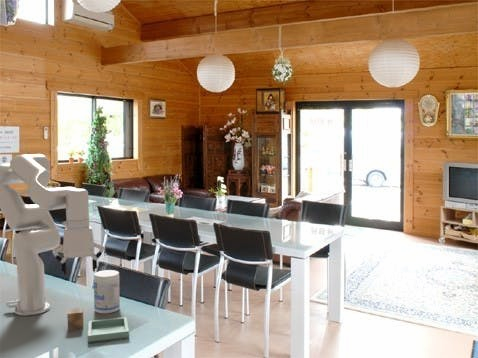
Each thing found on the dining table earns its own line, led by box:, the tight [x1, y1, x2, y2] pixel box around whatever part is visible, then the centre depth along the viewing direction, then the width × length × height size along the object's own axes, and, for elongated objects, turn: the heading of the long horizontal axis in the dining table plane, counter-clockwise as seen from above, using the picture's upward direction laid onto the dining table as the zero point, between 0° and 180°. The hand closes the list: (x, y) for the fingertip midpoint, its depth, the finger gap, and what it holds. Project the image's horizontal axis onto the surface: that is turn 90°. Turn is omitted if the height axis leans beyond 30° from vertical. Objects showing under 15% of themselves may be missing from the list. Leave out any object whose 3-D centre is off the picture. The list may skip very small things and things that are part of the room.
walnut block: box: [66, 307, 84, 331], centre depth 168 cm, size 5×5×6 cm
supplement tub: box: [93, 269, 121, 314], centre depth 184 cm, size 10×10×15 cm
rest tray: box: [87, 316, 130, 344], centre depth 162 cm, size 13×13×3 cm
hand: (79, 272), depth 167 cm, fingers open, 9 cm apart
